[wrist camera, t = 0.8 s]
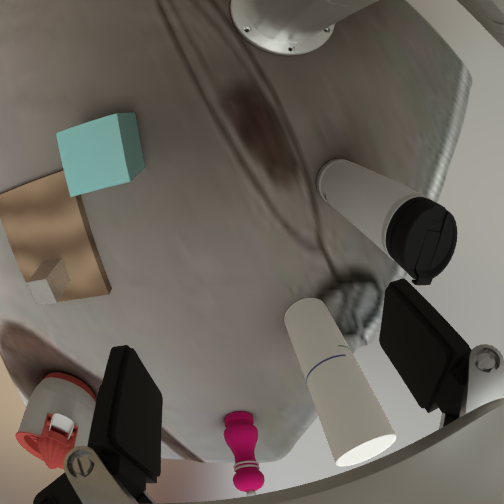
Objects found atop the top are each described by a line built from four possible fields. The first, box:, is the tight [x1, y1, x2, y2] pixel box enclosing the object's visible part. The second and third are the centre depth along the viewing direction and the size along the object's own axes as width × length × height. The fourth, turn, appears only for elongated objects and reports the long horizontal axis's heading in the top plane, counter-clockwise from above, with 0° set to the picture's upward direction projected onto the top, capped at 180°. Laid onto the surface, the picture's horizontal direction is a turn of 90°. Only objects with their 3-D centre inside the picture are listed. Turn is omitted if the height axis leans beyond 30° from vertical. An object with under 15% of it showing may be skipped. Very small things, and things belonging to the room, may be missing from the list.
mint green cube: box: [56, 113, 145, 197], centre depth 27 cm, size 7×7×8 cm
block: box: [26, 258, 71, 306], centre depth 32 cm, size 4×4×6 cm
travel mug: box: [316, 158, 457, 285], centre depth 28 cm, size 6×7×20 cm
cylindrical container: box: [284, 298, 396, 466], centre depth 35 cm, size 7×7×25 cm
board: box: [0, 170, 112, 304], centre depth 34 cm, size 18×14×2 cm
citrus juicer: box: [16, 372, 96, 469], centre depth 39 cm, size 16×17×20 cm
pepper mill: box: [224, 411, 264, 496], centre depth 49 cm, size 7×7×20 cm
